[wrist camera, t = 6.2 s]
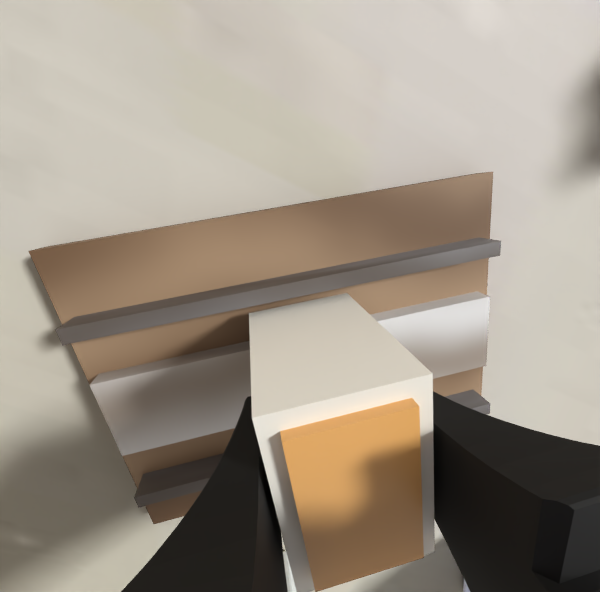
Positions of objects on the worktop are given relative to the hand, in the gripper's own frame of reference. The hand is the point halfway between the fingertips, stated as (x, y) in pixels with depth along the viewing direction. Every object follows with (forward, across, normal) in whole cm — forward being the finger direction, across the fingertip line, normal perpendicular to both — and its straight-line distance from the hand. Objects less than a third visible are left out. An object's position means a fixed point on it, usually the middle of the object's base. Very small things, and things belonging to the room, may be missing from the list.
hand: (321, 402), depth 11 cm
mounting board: (+4, 0, 0) cm, 4 cm away
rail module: (+2, 0, 0) cm, 2 cm away
